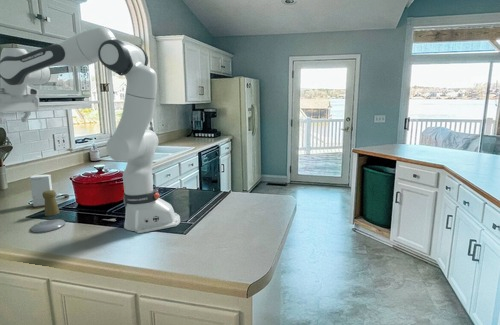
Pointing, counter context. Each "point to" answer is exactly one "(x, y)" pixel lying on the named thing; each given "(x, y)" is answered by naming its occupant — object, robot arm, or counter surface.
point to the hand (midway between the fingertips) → (13, 122)
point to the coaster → (48, 226)
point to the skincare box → (40, 188)
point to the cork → (50, 203)
